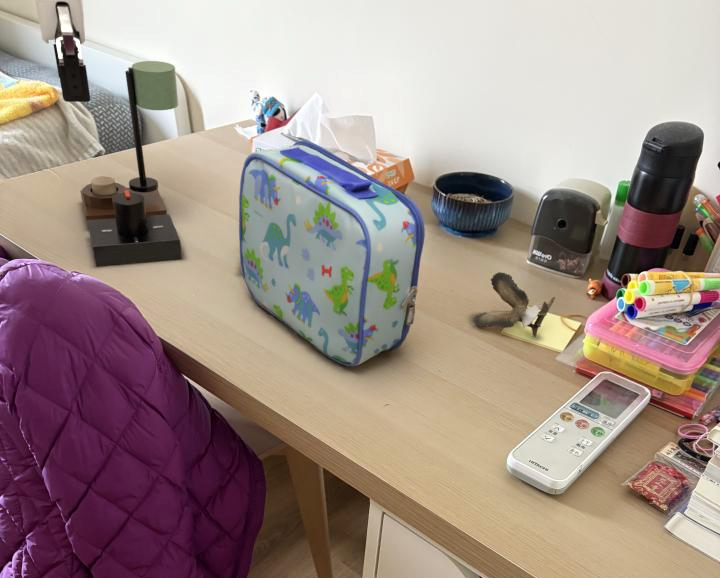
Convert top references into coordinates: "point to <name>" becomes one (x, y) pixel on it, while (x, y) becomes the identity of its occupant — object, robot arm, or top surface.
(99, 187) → the lamp button
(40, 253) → the top surface
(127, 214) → the dimmer knob
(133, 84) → the desk lamp
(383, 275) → the lunch box
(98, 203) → the lamp base
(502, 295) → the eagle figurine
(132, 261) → the dimmer plate
